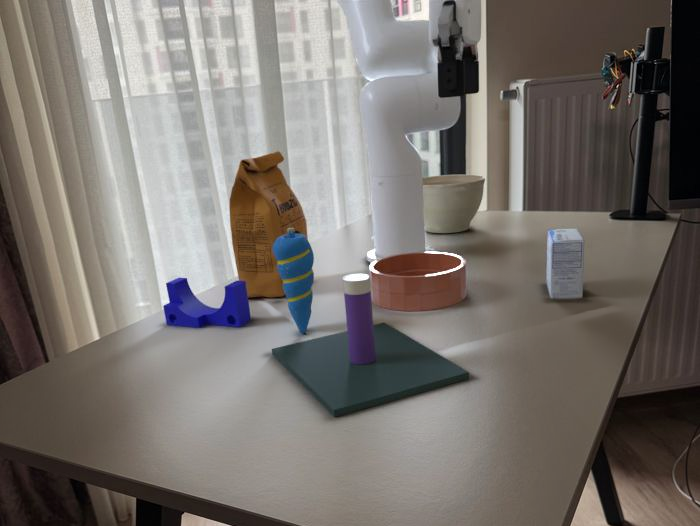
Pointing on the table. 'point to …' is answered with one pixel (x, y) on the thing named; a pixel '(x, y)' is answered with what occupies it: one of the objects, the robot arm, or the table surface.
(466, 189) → the planter bowl
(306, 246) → the ornament
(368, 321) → the glue stick
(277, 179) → the coffee package
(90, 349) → the table surface
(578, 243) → the medicine box
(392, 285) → the bowl
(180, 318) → the blue pipe cradle
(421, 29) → the robot arm
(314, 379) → the mat
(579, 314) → the table surface
